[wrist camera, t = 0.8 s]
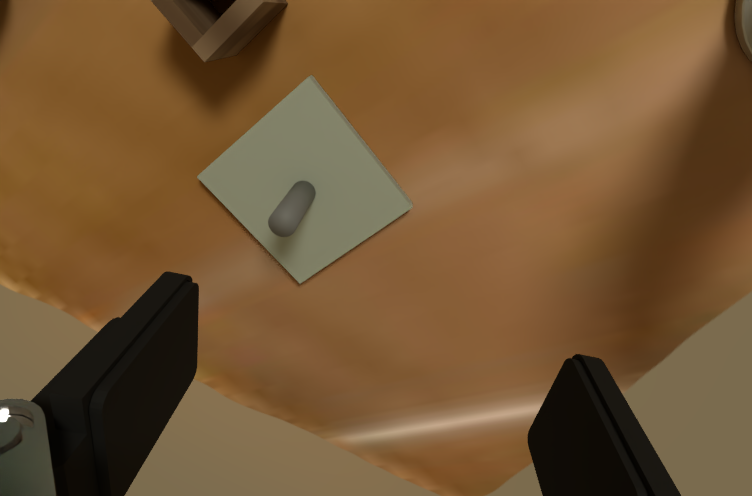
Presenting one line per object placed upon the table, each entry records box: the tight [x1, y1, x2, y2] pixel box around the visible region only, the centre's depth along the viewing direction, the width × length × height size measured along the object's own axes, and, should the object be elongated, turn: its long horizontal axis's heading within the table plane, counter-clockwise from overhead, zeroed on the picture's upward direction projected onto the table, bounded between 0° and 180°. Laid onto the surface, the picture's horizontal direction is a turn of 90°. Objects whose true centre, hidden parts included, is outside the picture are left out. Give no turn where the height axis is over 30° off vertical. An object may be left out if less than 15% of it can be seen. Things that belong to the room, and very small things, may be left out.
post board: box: [197, 75, 413, 284], centre depth 38 cm, size 14×14×8 cm
